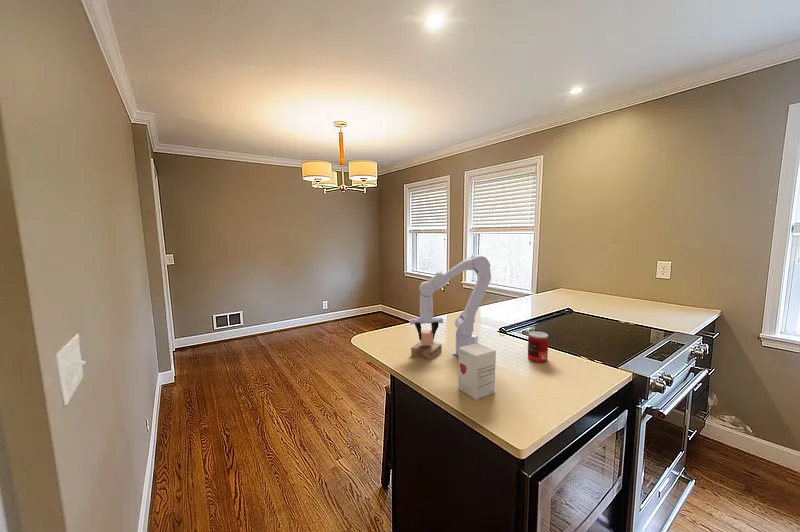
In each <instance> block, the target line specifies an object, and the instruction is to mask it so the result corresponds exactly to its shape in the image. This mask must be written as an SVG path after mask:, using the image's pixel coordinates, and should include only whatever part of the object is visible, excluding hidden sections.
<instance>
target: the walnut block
mask: <svg viewBox="0 0 800 532" xmlns="http://www.w3.org/2000/svg"><path fill="white" fill-rule="evenodd" d="M410 349H411V351H410V354H411V355H412V357H417V358H420V357H421V359H425V358H426V359H425V360H430V359H431V361H433V360H434V359H435V358H436V357H438V356H439V355H440V354H441V353H442V349H443V348H442V344H441V343H437V342H433V345H422V344H421V342H420V341H419V342H418V343H416V344H415V345H413V346H411V347H410ZM438 354H439V355H438ZM411 355H410V356H411ZM433 358H434V359H433ZM432 359H433V360H432Z"/></svg>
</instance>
